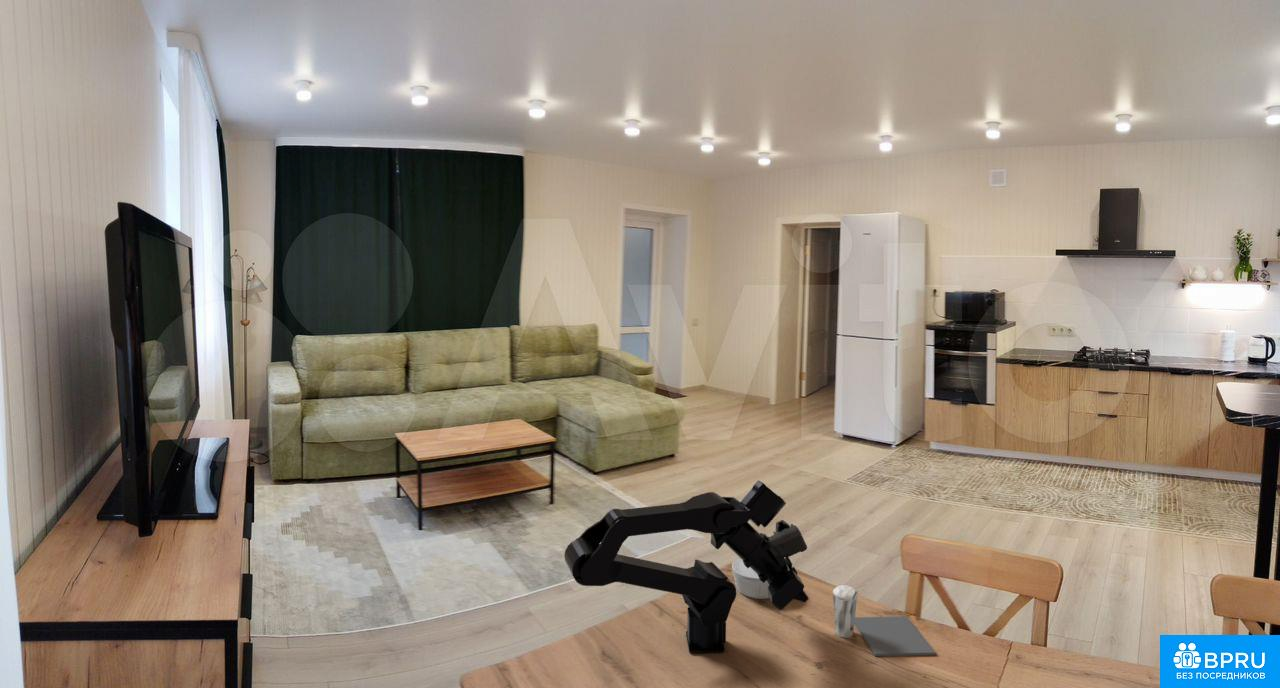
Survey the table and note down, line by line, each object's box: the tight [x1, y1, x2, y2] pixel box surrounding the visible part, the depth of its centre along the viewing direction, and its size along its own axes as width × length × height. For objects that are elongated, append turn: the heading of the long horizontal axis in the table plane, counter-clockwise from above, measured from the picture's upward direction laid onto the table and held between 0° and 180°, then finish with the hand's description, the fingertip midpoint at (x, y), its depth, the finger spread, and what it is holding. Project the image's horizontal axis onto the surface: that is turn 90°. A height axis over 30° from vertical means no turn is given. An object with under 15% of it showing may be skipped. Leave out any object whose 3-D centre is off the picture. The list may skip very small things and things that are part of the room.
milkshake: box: [832, 584, 859, 639], centre depth 124 cm, size 4×5×10 cm
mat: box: [854, 616, 936, 657], centre depth 124 cm, size 11×12×1 cm
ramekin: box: [731, 557, 770, 600], centre depth 142 cm, size 11×11×5 cm
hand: (806, 599), depth 124 cm, fingers closed
